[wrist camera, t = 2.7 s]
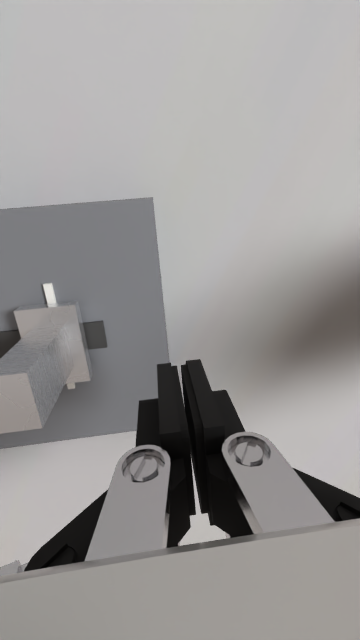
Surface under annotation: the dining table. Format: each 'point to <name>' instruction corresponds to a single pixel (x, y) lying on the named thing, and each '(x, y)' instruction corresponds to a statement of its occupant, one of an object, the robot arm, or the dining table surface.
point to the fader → (41, 364)
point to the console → (89, 306)
